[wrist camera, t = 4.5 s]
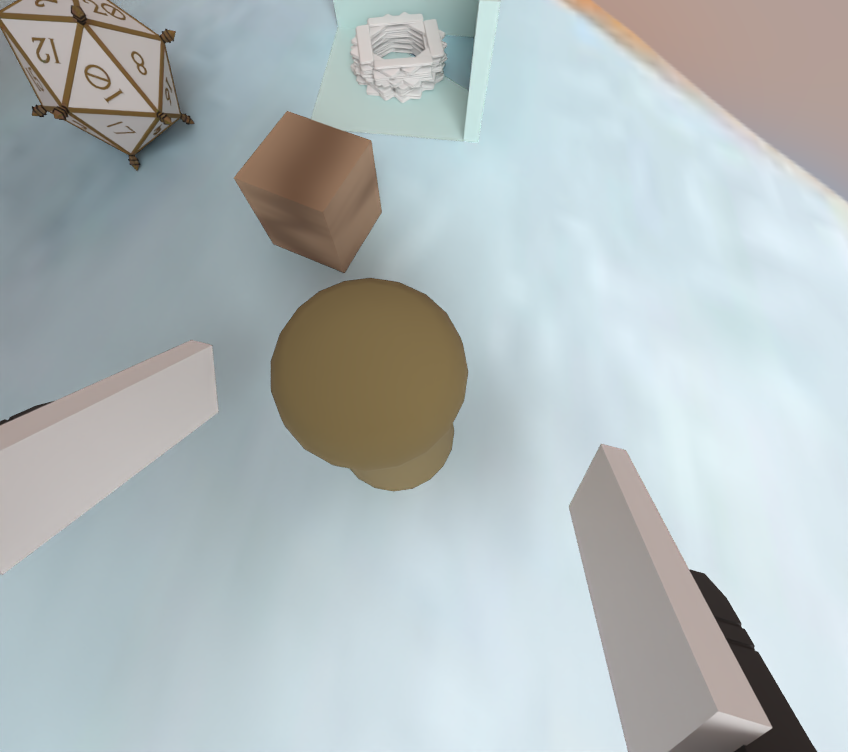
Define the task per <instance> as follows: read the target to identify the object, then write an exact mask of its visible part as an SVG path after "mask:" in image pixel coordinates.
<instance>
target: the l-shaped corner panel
mask: <svg viewBox="0 0 848 752" xmlns="http://www.w3.org/2000/svg"><path fill="white" fill-rule="evenodd" d="M333 2H334V8H335V13H336V19H337V24H338V28H337V32H336V35H335V39H334V42H333V45H332V49H331V52H330V56H329V59H328V62H327V66H326V69H325V73H324V76H323V80H322V83H321V86H320V90H319V93H318V97H317V100H316V103H315V107H314V110H313V114H312V117H311V120H314V121H317V122H320V123H323V124H325V125H328V126H331V127H334V128H337V129H340V130H343V131H349V132H361V133H372V134H383V135H395V136H406V137H417V138H429V139H440V140H451V141H463V142H474V143H478V141H479V135H480V129H481V122H482V116H483V110H484V104H485V97H486V91H487V85H488V78H489V72H490V66H491V59H492V53H493V47H494V41H495V34H496V28H497V22H498V15H499V9H500V3H501V0H333ZM446 35H449V36H462V37H474V45H473V55H472V64H471V73H470V83H469V90H467V89H465V88H464V87H462V86H460V85H459V84H457V83H455V82H454V81H452V80H451V79H449V78H447V77H446V76H444V74H443V72H444V71H443V67H445V63H444V62H445V61H446V60H447V57H446V56H447V54H446V53H444V49H445V48H446V47H447V43H445V42H443V41H441V40H442V39H443V38H444V37H445V36H446ZM408 53H413V54H414V55H415V56H416V57H413V56H411V55H410V54H408Z"/></svg>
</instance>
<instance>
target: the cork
mask: <svg viewBox="0 0 848 752" xmlns="http://www.w3.org/2000/svg"><path fill="white" fill-rule="evenodd" d="M467 377H468V368H467V363H466V358H465V353H464V347H463V343H462V340H461V338H460V336H459V334H458V332H457V330H456V329H455V327H454V325H453V323H452V322H451V320H450V318H449V316H448V315H447V313H446V312H445V311H444V310H443V309H442V308H440V307H439V306H438V305H437V304H436V303H435V302H434V301H433V300H432V299H430V298H429V297H428V296H427V295H426V294H424V293H421V292H419V291H417V290H415V289H413V288H411V287H409V286H406V285H404V284H402V283H399V282H394V281H388V280H381V279H375V278H366V279H358V280H349V281H343V282H341V283H339V284H336V285H334V286H331V287H329V288H326V289H324V290H321V291H319V292H318V293H317V294H315V295H314V296H313V297H312V298H310V299H309V300H308V301H306V302H305V303H304V304H303V305H301V306H300V307H299V308H298V309H297V310H296V312H295V313H294V315H293V316H292V317H291V319H290V320H289V322H288V323H287V324H286V326H285V327H284V329H283V330H282V331H281V333H280V335H279V338H278V341H277V344H276V347H275V350H274V353H273V356H272V359H271V392H272V395H273V398H274V400H275V403H276V406H277V409H278V411H279V414H280V417H281V419H282V421H283V423H284V425H285V427H286V428H287V429H288V430H289V431H290V433H291V434H292V435H293V436H294V437H295V438H296V440H297V441H298V442H299V443H300V444H301V445H302V447H303V448H304V449H305V450H307V451H309V452H311V453H312V454H314V455H316V456H318V457H319V458H321V459H323V460H325V461H326V462H328V463H330V464H332V465H335V466H340V467H345V468H350V469H351V471H352V472H353V473H354V474H355V475H356V476H357V477H358V479H360V480H362V481H364V482H365V483H367V484H369V485H371V486H372V487H374V488H378V489H384V490H389V491H399V490H406V489H413V488H415V487H417V486H419V485H421V484H422V483H424V482H426V481H428V480H430V479H431V478H432V477H433V476H434V475H435V474H436V473H437V472H438V471H439V470H440V469H441V468H442V467H443V466H444V464H445V462H446V460H447V458H448V456H449V454H450V452H451V450H452V443H453V436H454V427H453V422H454V420H455V418H456V416H457V414H458V412H459V410H460V408H461V406H462V404H463V402H464V397H465V391H466V384H467Z"/></svg>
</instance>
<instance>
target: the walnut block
mask: <svg viewBox="0 0 848 752" xmlns="http://www.w3.org/2000/svg"><path fill="white" fill-rule="evenodd" d="M234 179H235V181H236V183H237V184H238V186H239V188H240V189H241V191H242V193H243V194H244V196H245V198H246V199H247V201H248V203H249V204H250V206H251V208H252V209H253V211H254V213H255V214H256V216H257V218H258V219H259V221H260V223H261V224H262V226H263V228H264V229H265V231H266V233H267V234H268V236H269V238H270V239H271V241H272V243H273V244H274V245H277V246H279V247H282V248H284V249H287V250H289V251H291V252H294V253H296V254H299V255H301V256H304V257H306V258H309V259H311V260H314V261H316V262H318V263H321V264H323V265H326V266H328V267H331V268H333V269H336V270H338V271H341V272H343V273H345V271H346V270H347V268H348V267H349V265H350V263H351V262H352V260H353V258H354V257H355V255H356V253H357V252H358V250H359V249H360V247H361V245H362V244H363V242H364V240H365V239H366V237H367V235H368V234H369V232H370V231H371V229H372V227H373V226H374V224H375V222H376V221H377V219H378V217H379V216H380V214H381V213H382V210H381V204H380V197H379V190H378V183H377V176H376V169H375V163H374V156H373V149H372V142H371V140H368V139H365V138H362V137H360V136H357V135H354V134H351V133H348V132H345V131H343V130H340V129H337V128H334V127H331V126H328V125H325V124H323V123H320V122H317V121H314V120H311V119H308V118H306V117H303V116H300V115H297V114H294V113H291V112H288V111H287V112H286V113H285V114H284V116H283V117H282V118H281V119H280V121H279V122H278V123H277V124H276V126H275V127H274V128H273V129H272V131H271V132H270V133H269V134H268V136H267V137H266V138H265V139H264V141H263V142H262V143H261V144H260V146H259V147H258V148H257V149H256V151H255V152H254V153H253V154H252V156H251V157H250V158H249V159H248V161H247V162H246V163H245V164H244V166H243V167H242V168H241V169H240V171H239V172H238V173H237V174H236V176H235V177H234Z"/></svg>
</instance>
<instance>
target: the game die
mask: <svg viewBox="0 0 848 752" xmlns="http://www.w3.org/2000/svg"><path fill="white" fill-rule="evenodd" d="M0 28H1V30H2V31H3V33H4V35H5V37H6V39H7V41H8V43H9V45H10V47H11V48H12V50H13V52H14V54H15V56H16V58H17V60H18V62H19V64H20V65H21V67H22V69H23V71H24V73H25V75H26V77H27V79H28V81H29V82H30V84H31V86H32V88H33V90H34V92H35V94H36V96H37V98H38V99H39V101H40V103H41V105H36V106H35V107H33V106H32V109H33V111H32V116H39V117H44V116H43V115H47V114H46V113H47V111H48V112H50V113H52V114H54V118H55V119H59V120H65V121H67V122H69V123H70V124H72V125H74V126H76V127H78V128H80V129H82V130H83V131H85V132H87V133H89V134H91V135H93V136H94V137H96V138H98V139H100V140H102V141H104V142H106V143H107V144H109V145H111V146H113V147H115V148H117V149H119V150H120V151H122V152H124V153H126V154H128V155H129V159H128V160H129V161H130V165H132V166H133V167H134V168H135V169H136V170H138V167H139V165H140V164H139V163H138V161H139V160H138V159H137V158H136V157H135V154H136V153H138V152H139V151H140V150H141V149H143V148H144V147H145V146H146V145H148V144H149V143H150V142H151V141H153V140H154V139H155V138H156V137H158V136H159V135H160V134H161V133H162V132H164V131H165V130H166V129H167V128H169V127H170V126H171V125H172V124H174V123H175V122H176V121H177V120H179V119H181V120H182V121H183V122H186V124H195V123H194V122H193V121H192V119H191V118H190V116H187V115H186V114H182V113H181V112H180V108H179V103H178V99H177V94H176V90H175V86H174V81H173V77H172V73H171V68H170V64H169V59H168V55H167V51H166V46H165V43H166V42H169V43H171V41H174V37H175V33H176V31H171V30H167V29H165V31H164V32H163V31H162V34H161V35H160V36H159V35H158V34H156V33H155V32H154V31H152V30H151V29H149V28H148V27H146V26H145V25H144V24H142V23H141V22H139V21H138V20H136V19H135V18H134V17H132V16H131V15H129V14H128V13H126V12H125V11H124V10H122V9H121V8H119V7H118V6H116V5H115V4H114V3H112V2H111V1H109V0H17V1H15V2H14V3H12V4H10V5H9V6H7V7H5V8H4V9H2V10H0Z"/></svg>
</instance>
